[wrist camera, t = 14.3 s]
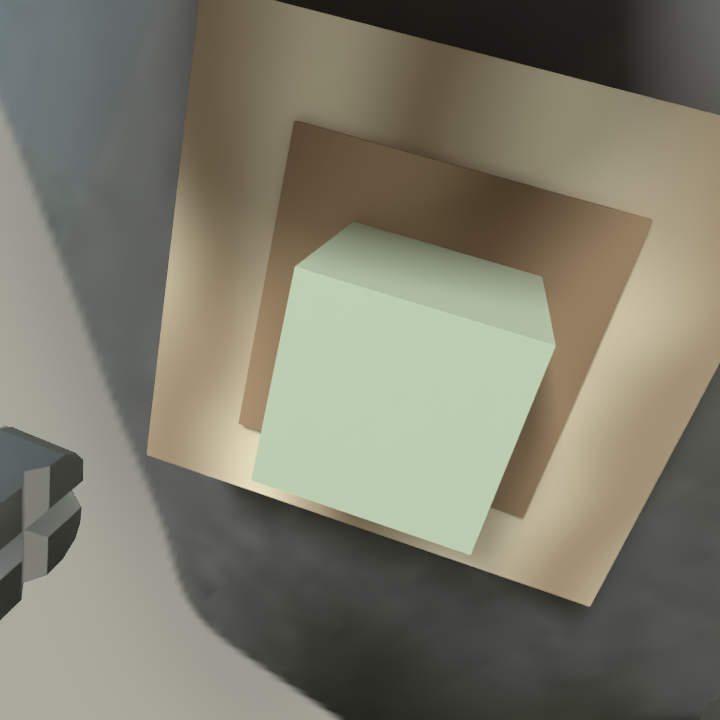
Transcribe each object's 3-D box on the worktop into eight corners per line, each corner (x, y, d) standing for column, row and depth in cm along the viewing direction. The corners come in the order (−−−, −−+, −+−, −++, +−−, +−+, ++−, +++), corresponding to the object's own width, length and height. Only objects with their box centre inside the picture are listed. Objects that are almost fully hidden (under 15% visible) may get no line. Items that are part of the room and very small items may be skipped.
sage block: (542, 276, 16) (555, 345, 11) (480, 441, 18) (470, 555, 13) (353, 221, 16) (294, 266, 12) (314, 387, 18) (251, 480, 14)
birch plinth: (754, 134, 18) (841, 146, 14) (574, 512, 24) (590, 613, 19) (271, 9, 20) (195, -21, 15) (210, 392, 26) (141, 459, 21)
